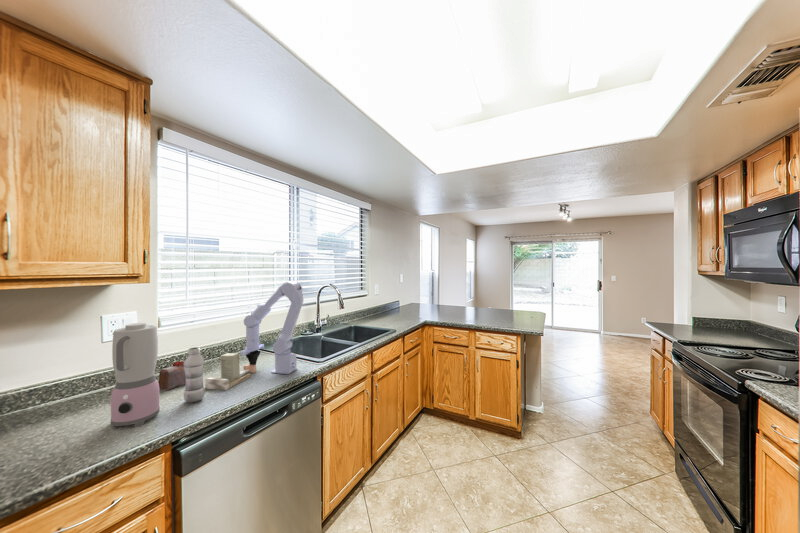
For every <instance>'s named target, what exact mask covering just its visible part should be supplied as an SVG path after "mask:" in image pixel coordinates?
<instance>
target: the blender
mask: <svg viewBox="0 0 800 533" xmlns="http://www.w3.org/2000/svg"><path fill="white" fill-rule="evenodd" d="M158 340H159V338H158V328H157V326H156V325H152V324H151V325H150V324H149V325H147V323H145V322H137V323H128V324H126V325H125V327H121V328H118V329H115V330H114V331H113V333H112V345H111V346H112V349H111V350H112V354H111V355H112V356H111V358H112V368H113V370H114V374H115V379H116V380H115V381H116V383H115V386H114V388H112V392H111V395H110V426H111V429H113V430H115V429H117V427H123V426H130V425H134V426H135V427H137V428H138V427H141V426H143V425H144V424H145V421H147V420H149V419H151V418H153V417H155V416H157V415H159V413H160V411H161V407H160V389H159V380H157V378H156V376H155V372H156V366H157V362H158V355H159V354H158V352H159V351H158V350H159V345H158V344H159V342H158ZM135 427H134V428H135Z"/></svg>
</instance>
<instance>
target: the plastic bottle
mask: <svg viewBox="0 0 800 533" xmlns="http://www.w3.org/2000/svg"><path fill="white" fill-rule="evenodd" d="M187 351H188V352H187V355H188V356H187V357H186V358H185V360H184V361H183V362H184V370H185V377H186V384H185V385H184V392H183V399H184V400H183V401H185V402H186V403H189V404H190V403H196V402H199V401H202V400H203V398H204V397H205V386H204V381H203V379H204V378H203V376H204V375H203V373H204V367H205V366H204V365H205V360H204V358H203V356H202V355H201V347H198V346H196V347H190V348H188V349H187Z"/></svg>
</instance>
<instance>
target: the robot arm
mask: <svg viewBox="0 0 800 533" xmlns="http://www.w3.org/2000/svg"><path fill="white" fill-rule="evenodd" d="M282 297H286V298H287V299H288V300H289V302H290V305H289V308H288V312H287V314H286V318H285V320H284V323H283V327H282V330H281V331H280V334H279V336H277V339H276V341H275V342H274V343H273V344H272V352H274V369H273V370H272V371H271V374H285V375H289V374H291V373H293V372H294V371H296V370H297V369H298V367H297V355H296V353H295V352H292V351H291V348H293V345H294V344H293V338H294V335H293V333H294V331H295V327H296V324H297V322H298V319H299V316H300V313H301V309H302V306H303V304H304V297H303V287H302V286H301V284H300V282H298V281H296V280H295V281H285V282H283V283H282V284H281V285H280V286H279V287H278V288H277V289H276V291H274V293H273V294H272V295H271V296H270V297H269V298H268V299H267V300H266V301H265V303H264V302H262V303H258V304H257V307H256V308H255V310H253V311H251V312H250V314H248V315H246V316H245V317H244V319H243V324H244V326H245V328H246V329H245V330H246V332H245V342H246V344H245V346H246V347H244V349H242V351H240V353H239V357H246V359H247V360H248V362H249V363H248V364H250V365H256V366H257V362H258V358H259V356H260V354H261V351H260V350H261V349H265V344H264V343H260V324H261V323H262V320H263V319H264V318H265V317H266V316H268V314H269V313H270V312H271V309H272V307H273V306H274V305H275V304H276V303H277V302H278V301H279V300H280V299H281V298H282Z"/></svg>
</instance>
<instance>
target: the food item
mask: <svg viewBox="0 0 800 533" xmlns="http://www.w3.org/2000/svg"><path fill="white" fill-rule="evenodd" d="M158 384H159V390H165V391H168V390H171V389H174V388H176V387H179V386H185V384H186V377H185V370H184V361H182V360H181V361H176V362H173V363H172V365H171V366H168V367H165V368H161V369H160V370H159V374H158Z"/></svg>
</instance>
